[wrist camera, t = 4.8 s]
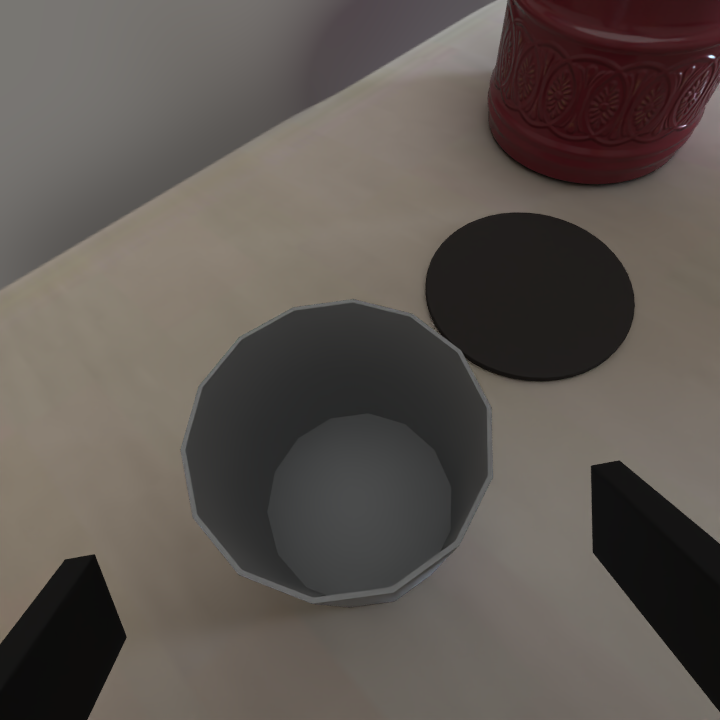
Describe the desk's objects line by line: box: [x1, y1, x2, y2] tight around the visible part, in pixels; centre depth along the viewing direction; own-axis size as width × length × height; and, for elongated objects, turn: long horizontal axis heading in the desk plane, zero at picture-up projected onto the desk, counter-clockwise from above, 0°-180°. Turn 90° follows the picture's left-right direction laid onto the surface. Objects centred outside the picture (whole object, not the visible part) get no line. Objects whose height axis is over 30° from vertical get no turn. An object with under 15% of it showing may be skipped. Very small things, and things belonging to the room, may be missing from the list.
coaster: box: [426, 213, 635, 381], centre depth 26 cm, size 11×11×1 cm
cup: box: [181, 299, 493, 607], centre depth 17 cm, size 8×8×10 cm
